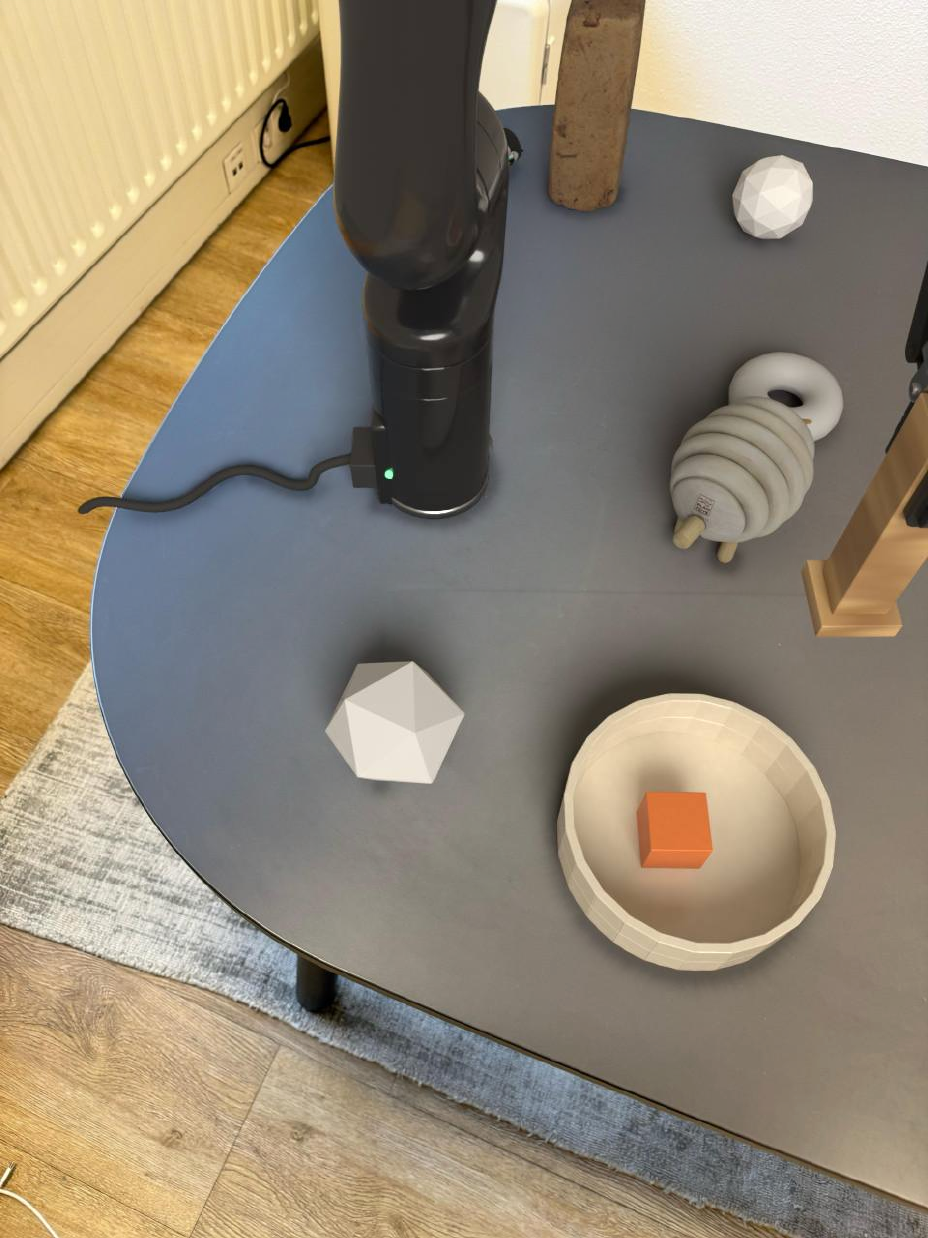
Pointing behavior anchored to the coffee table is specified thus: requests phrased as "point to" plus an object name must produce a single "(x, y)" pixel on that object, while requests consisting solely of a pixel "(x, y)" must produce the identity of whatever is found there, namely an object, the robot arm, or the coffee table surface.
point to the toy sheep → (740, 473)
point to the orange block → (674, 830)
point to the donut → (793, 387)
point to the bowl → (739, 823)
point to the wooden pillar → (874, 546)
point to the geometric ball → (772, 197)
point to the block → (594, 101)
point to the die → (394, 723)
